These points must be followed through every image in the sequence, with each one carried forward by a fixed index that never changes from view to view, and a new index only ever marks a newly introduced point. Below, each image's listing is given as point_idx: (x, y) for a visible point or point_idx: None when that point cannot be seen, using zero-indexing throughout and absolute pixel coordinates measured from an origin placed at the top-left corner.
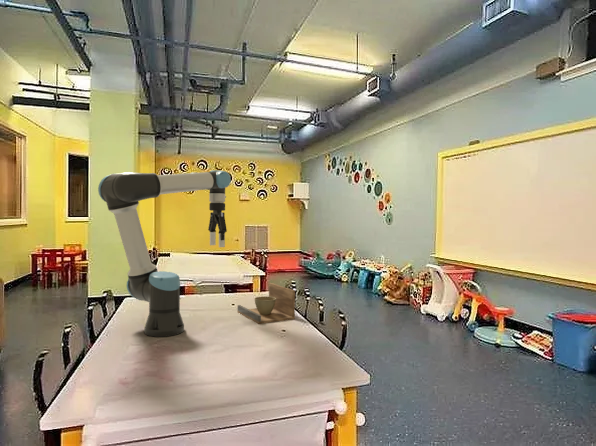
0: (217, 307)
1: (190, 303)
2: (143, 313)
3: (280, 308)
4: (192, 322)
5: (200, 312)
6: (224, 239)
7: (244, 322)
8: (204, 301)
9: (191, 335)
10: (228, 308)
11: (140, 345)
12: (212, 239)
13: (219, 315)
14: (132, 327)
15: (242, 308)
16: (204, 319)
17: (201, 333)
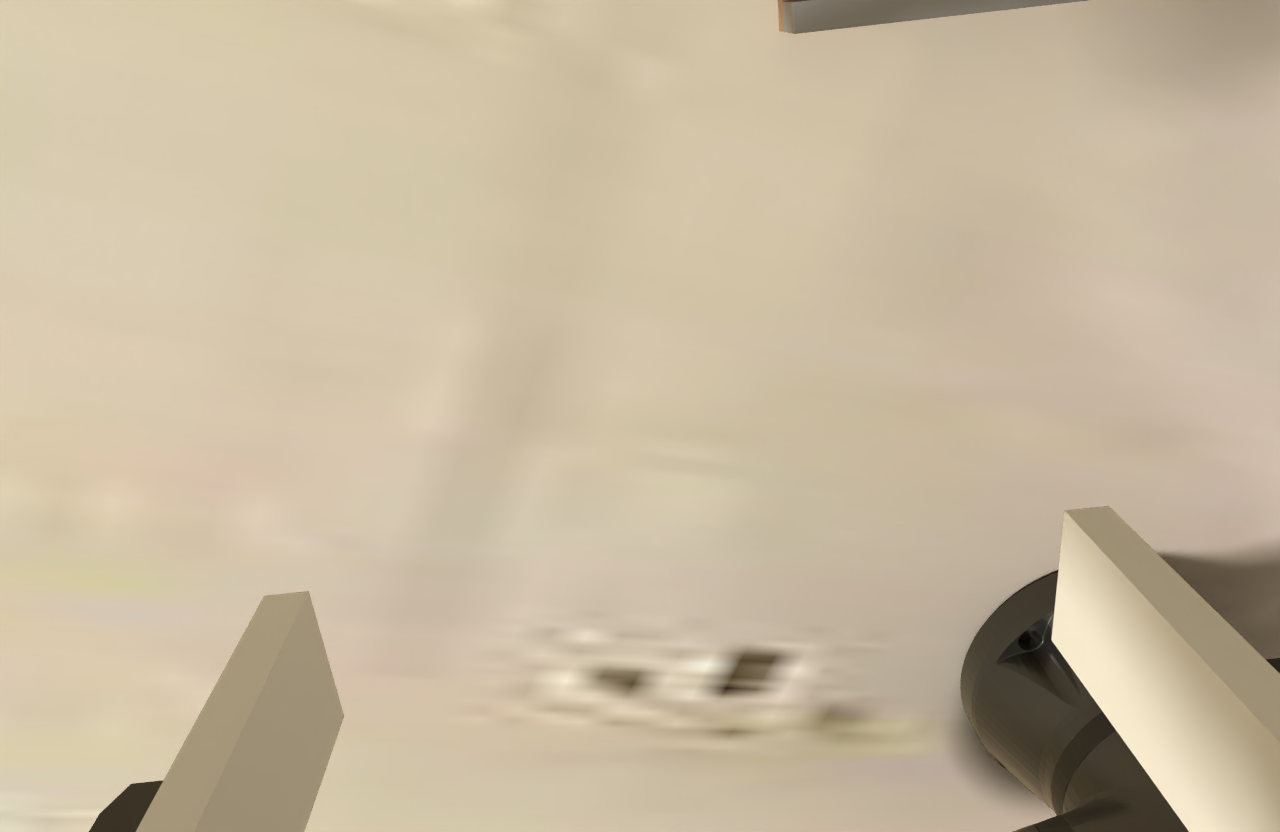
0: (468, 177)
1: (196, 398)
2: (505, 755)
3: None
4: (943, 483)
5: (631, 374)
6: (1240, 646)
7: (1179, 82)
8: (114, 247)
9: (1266, 534)
10: (555, 73)
11: None
12: (281, 792)
13: (818, 237)
14: (877, 810)
15: (939, 16)
16: (897, 386)
17: (1264, 471)
